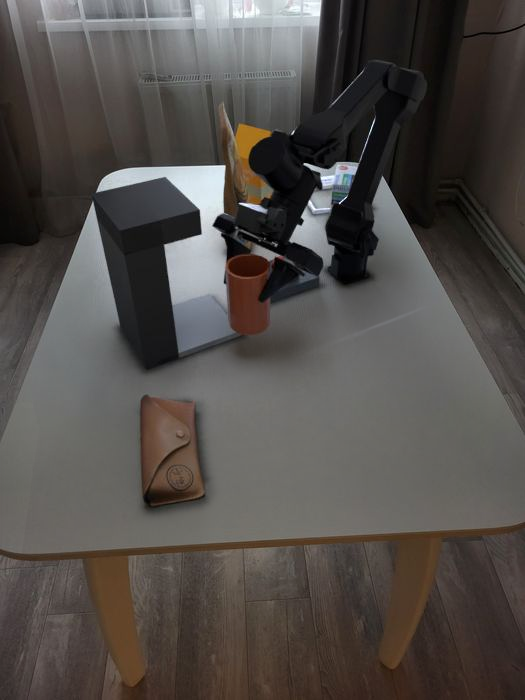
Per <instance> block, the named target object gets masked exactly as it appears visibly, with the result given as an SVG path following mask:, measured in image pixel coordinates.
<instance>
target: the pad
mask: <svg viewBox="0 0 525 700" xmlns="http://www.w3.org/2000/svg"><path fill="white" fill-rule="evenodd" d="M273 259H274V258H273ZM273 259H270V260H268V261H269V262H270V275H271V273H272V271H273ZM303 273H305V275H304V277H303V276H298V277H296V278H295V279H293V280H292V281H290V282H289V283H287V284H286V285H284V286H283V287H282V288H280V289H279V290H278V291H277V292H276V293H274V294H273V295H272V296H271V297H270V304H272V303H274V302H276V301H277V302H278V301H279V300H282V299H286V298H289V297H291V296H294V295H297V294H300V293H303V292H306V291H309V290H312V289H314V288H317V287H319V286H320V279H321V277H320V275H319V276H318V277H316V276H314V275H312V274H310V273H307V272H305V271H304V272H303Z"/></svg>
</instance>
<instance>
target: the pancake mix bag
mask: <svg viewBox="0 0 525 700" xmlns="http://www.w3.org/2000/svg"><path fill="white" fill-rule="evenodd" d="M218 115H219V116H218V117H219V120H220V140H221V151H222V156H223V161H224V166H225V168H224V178H223V179H224V183H223V195H222V196H223V198H222V199H223V200H222V201H223V202H222V203H223V204H222V205H223V206H222V207H223V213H225V214H228V215H230V216H232V217H235V215H236V211H237V207H238V203H246V204H250V198H249V194H248V190H247V186H246V181H245V176H244V173H243V169H242V164H241V160H240V157H239V153H238V148H237V144H236V141H235V135H234V131H233V129H232V126H231V123H230V120H229V118H228V115H227V113H226V108H225V100H223V101H222V102H221V103H220V104H219V105H218ZM246 247H247V248H249V249H250V250H251V247H252V243H251V242H247V244H246Z"/></svg>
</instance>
